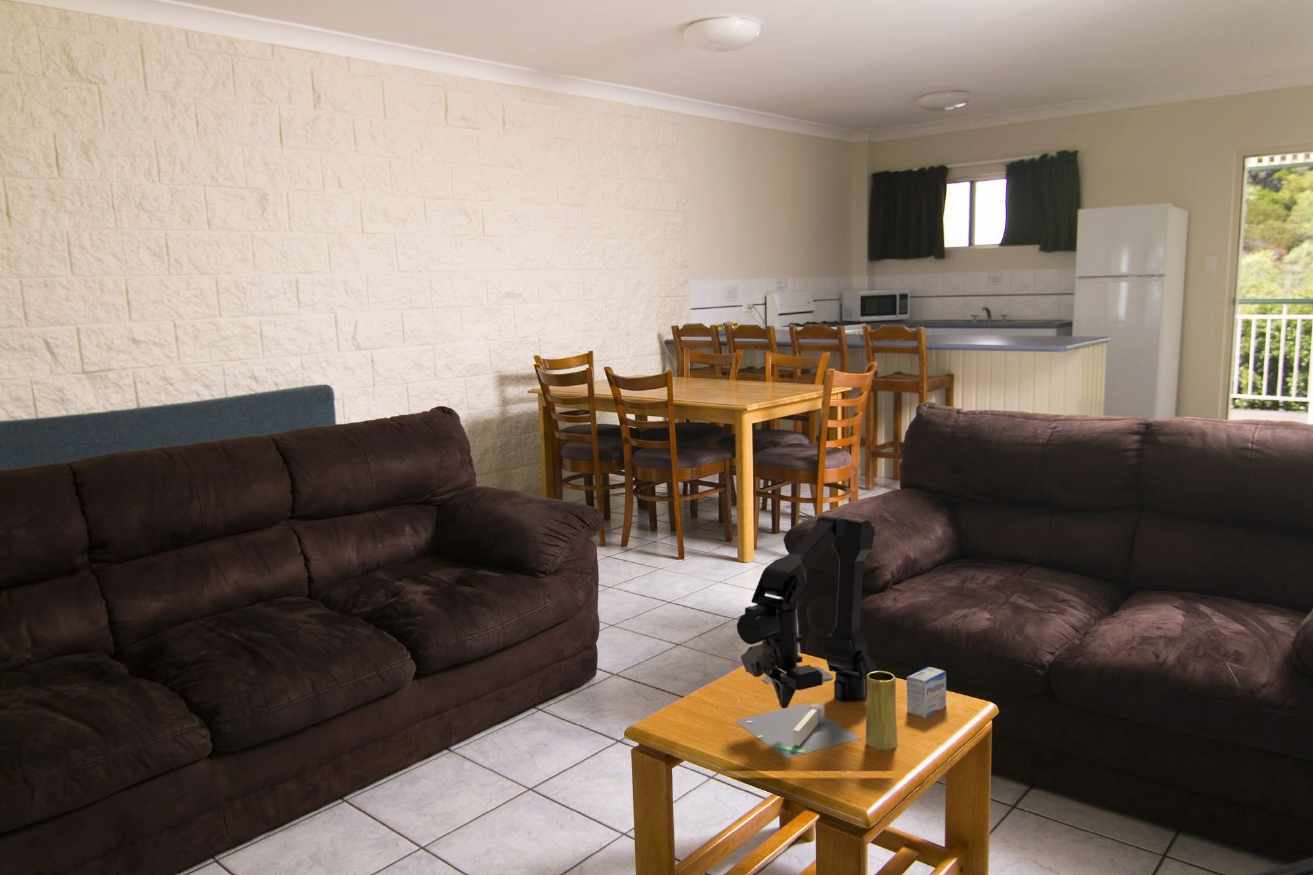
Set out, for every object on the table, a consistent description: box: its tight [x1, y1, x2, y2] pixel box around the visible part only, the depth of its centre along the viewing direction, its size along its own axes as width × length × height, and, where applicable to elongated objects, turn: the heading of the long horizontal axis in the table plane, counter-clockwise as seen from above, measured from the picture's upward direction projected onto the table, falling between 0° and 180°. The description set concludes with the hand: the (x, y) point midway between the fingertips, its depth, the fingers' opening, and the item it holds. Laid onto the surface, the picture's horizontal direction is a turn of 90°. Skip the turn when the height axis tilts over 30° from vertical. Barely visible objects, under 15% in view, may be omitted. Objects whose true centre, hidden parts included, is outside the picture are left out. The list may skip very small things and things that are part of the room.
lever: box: [793, 703, 826, 746], centre depth 179 cm, size 14×3×3 cm, turn 151°
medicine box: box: [906, 666, 947, 719], centre depth 188 cm, size 8×4×9 cm, turn 131°
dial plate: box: [734, 703, 861, 760], centre depth 181 cm, size 17×19×1 cm
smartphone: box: [762, 665, 834, 685], centre depth 209 cm, size 7×1×15 cm
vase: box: [865, 670, 899, 751], centre depth 173 cm, size 6×6×14 cm
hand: (784, 707), depth 179 cm, fingers closed
